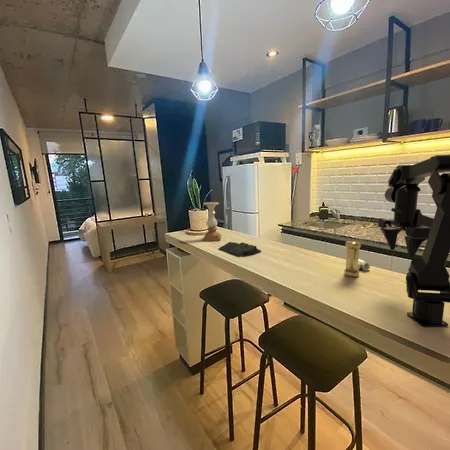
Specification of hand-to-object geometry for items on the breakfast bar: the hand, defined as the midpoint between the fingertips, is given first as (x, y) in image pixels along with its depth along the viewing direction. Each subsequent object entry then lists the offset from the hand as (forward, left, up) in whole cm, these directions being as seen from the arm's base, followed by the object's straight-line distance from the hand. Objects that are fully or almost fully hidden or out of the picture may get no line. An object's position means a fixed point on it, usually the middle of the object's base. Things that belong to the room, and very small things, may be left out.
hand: (401, 253), depth 86 cm
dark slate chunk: (+55, +50, -14) cm, 76 cm away
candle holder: (+85, +66, -13) cm, 108 cm away
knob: (+16, +8, -13) cm, 22 cm away
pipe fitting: (+24, +2, -14) cm, 28 cm away
